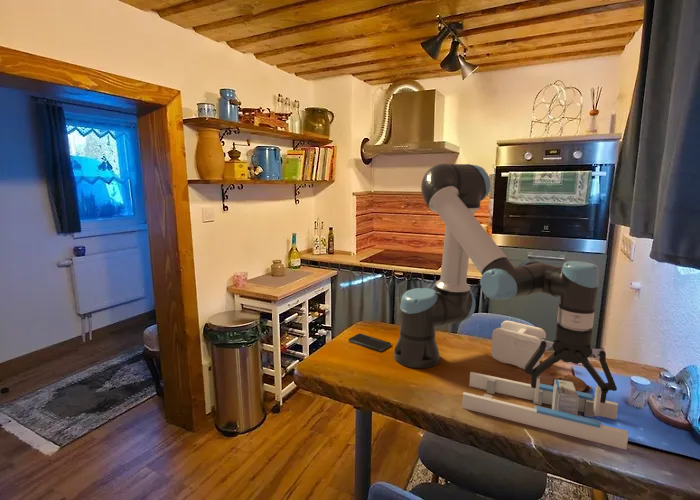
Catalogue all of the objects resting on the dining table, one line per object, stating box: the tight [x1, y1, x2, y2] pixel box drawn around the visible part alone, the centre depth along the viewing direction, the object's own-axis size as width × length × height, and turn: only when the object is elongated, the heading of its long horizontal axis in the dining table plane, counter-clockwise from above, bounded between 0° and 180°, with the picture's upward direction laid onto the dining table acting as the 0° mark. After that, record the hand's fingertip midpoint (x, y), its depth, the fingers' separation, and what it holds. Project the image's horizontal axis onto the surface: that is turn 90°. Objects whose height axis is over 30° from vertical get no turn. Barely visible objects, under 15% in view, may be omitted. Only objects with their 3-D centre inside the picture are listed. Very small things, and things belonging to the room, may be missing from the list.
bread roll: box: [550, 374, 593, 393], centre depth 111 cm, size 11×8×4 cm
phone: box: [348, 333, 392, 353], centre depth 141 cm, size 8×1×15 cm
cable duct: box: [461, 371, 629, 451], centre depth 98 cm, size 36×14×5 cm, turn 64°
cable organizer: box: [490, 320, 547, 370], centre depth 126 cm, size 15×11×12 cm
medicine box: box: [551, 378, 579, 415], centre depth 95 cm, size 8×4×9 cm, turn 159°
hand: (564, 406), depth 96 cm, fingers open, 12 cm apart
